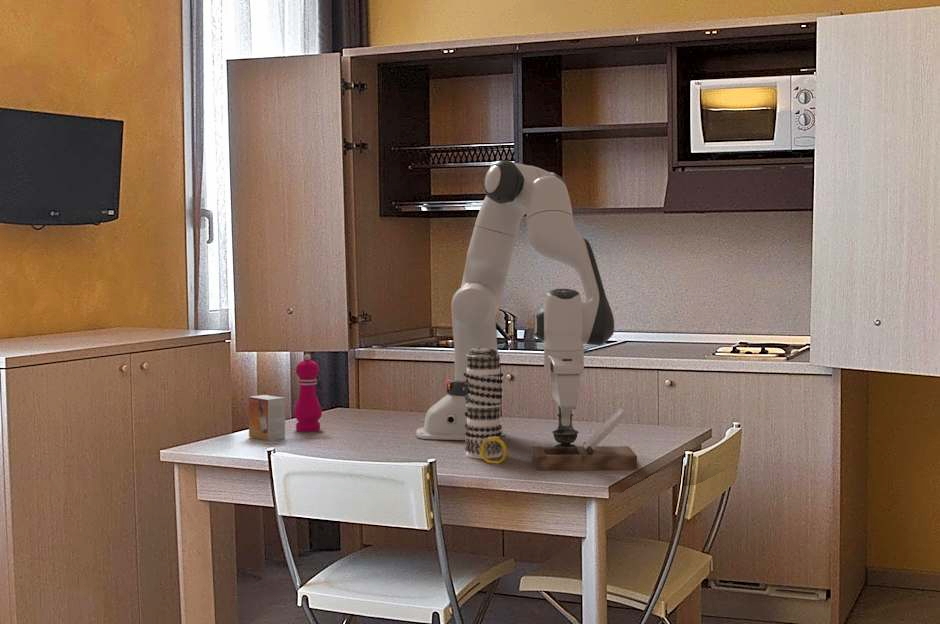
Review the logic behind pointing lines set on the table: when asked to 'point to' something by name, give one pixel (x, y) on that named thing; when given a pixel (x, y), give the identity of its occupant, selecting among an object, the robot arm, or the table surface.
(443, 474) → the table surface
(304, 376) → the pepper mill
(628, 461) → the walnut holder
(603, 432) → the latch bar
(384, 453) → the table surface
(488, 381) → the decorative candle
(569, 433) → the weathered chess piece
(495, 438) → the yellow faceted ring
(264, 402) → the small box
